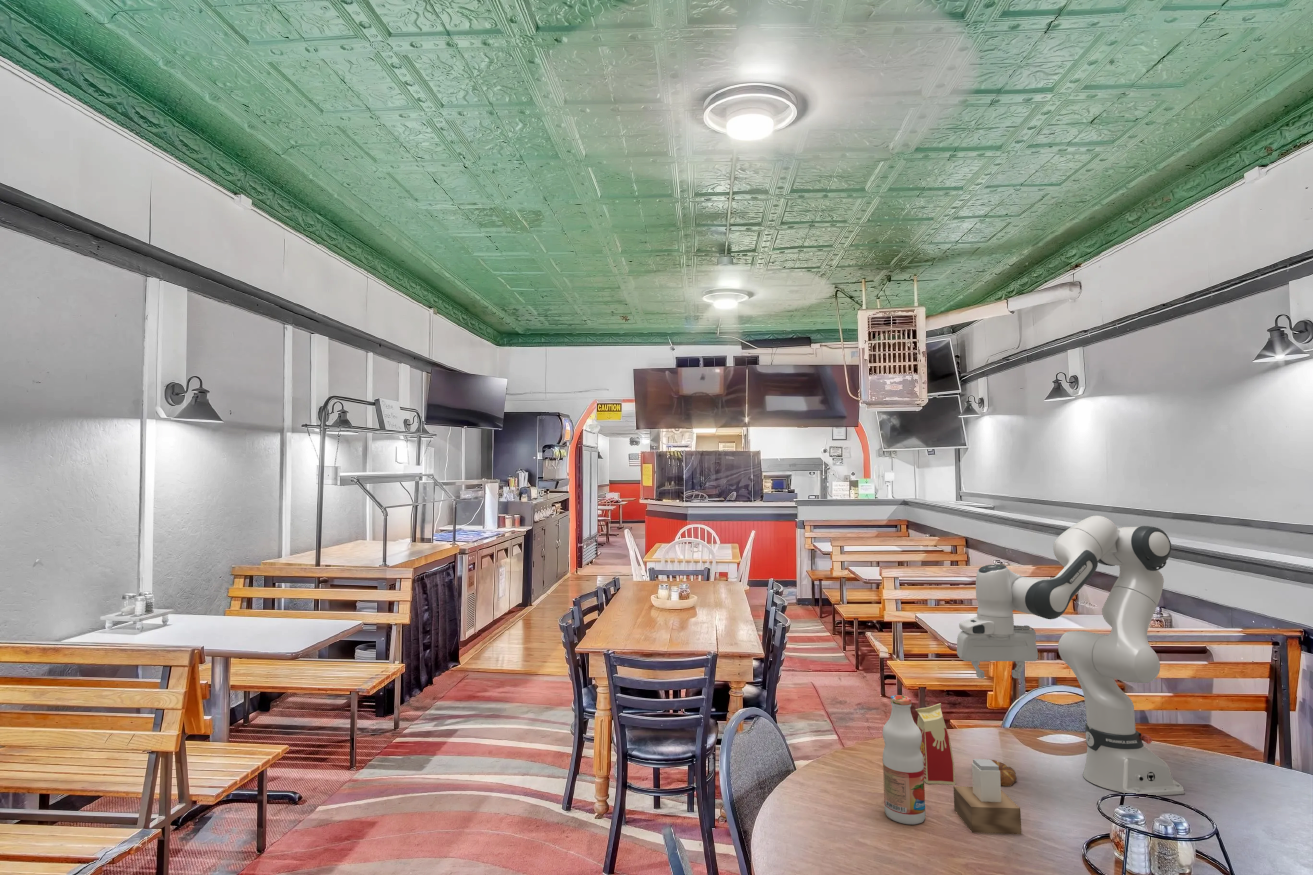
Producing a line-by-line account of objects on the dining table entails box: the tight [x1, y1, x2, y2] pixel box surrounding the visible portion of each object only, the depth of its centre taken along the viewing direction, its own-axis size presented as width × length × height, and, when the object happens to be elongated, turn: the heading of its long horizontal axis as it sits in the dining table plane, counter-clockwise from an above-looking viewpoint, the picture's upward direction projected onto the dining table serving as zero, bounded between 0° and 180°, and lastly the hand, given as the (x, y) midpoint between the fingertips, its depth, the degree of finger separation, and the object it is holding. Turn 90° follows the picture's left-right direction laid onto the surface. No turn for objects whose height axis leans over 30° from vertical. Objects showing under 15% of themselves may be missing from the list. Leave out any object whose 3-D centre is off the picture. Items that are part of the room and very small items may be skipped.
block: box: [952, 785, 1023, 835], centre depth 157 cm, size 11×11×6 cm
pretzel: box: [991, 759, 1018, 787], centre depth 181 cm, size 12×11×4 cm
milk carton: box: [915, 702, 956, 786], centre depth 182 cm, size 9×9×20 cm
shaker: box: [971, 758, 1002, 802], centre depth 157 cm, size 5×5×8 cm
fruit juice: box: [882, 694, 926, 825], centre depth 160 cm, size 9×9×28 cm
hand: (998, 677), depth 177 cm, fingers open, 8 cm apart
